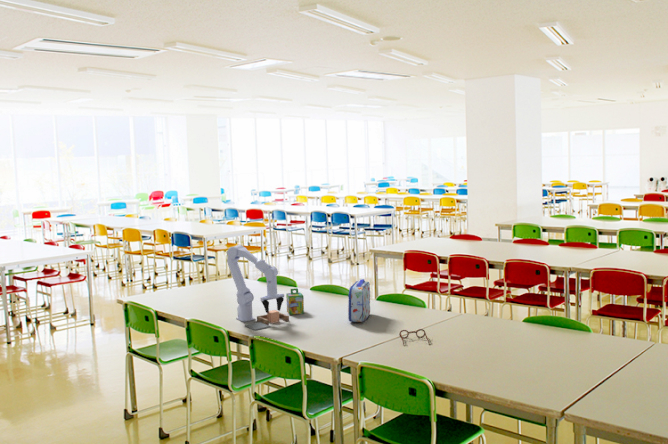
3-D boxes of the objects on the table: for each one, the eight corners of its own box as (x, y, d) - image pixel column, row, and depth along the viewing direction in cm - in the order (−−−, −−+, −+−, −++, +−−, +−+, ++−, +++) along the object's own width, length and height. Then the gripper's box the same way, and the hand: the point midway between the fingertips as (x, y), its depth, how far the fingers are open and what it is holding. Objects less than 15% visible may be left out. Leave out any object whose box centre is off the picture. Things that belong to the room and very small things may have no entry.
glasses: (425, 338, 294) (424, 328, 294) (430, 346, 281) (430, 336, 281) (399, 339, 294) (399, 329, 293) (403, 347, 281) (403, 337, 280)
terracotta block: (267, 321, 335) (267, 311, 334) (275, 319, 337) (274, 309, 337) (271, 323, 330) (271, 313, 330) (279, 321, 333) (278, 311, 333)
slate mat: (244, 326, 326) (244, 325, 326) (260, 322, 332) (260, 321, 332) (254, 330, 317) (254, 329, 316) (270, 327, 322) (270, 326, 322)
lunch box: (354, 312, 349) (353, 276, 346) (372, 312, 346) (371, 276, 344) (346, 324, 322) (345, 286, 320) (365, 325, 320) (364, 286, 318)
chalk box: (289, 315, 347) (288, 291, 345) (286, 311, 355) (285, 288, 354) (304, 313, 349) (303, 289, 348) (301, 310, 358) (300, 286, 356)
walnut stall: (257, 321, 335) (256, 316, 335) (278, 317, 343) (278, 312, 343) (267, 325, 325) (266, 320, 325) (289, 321, 334) (288, 316, 333)
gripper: (264, 291, 325) (265, 315, 326) (286, 287, 333) (287, 310, 334) (258, 289, 330) (259, 312, 332) (280, 285, 339) (281, 308, 340)
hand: (273, 311), depth 333 cm, fingers open, 7 cm apart
